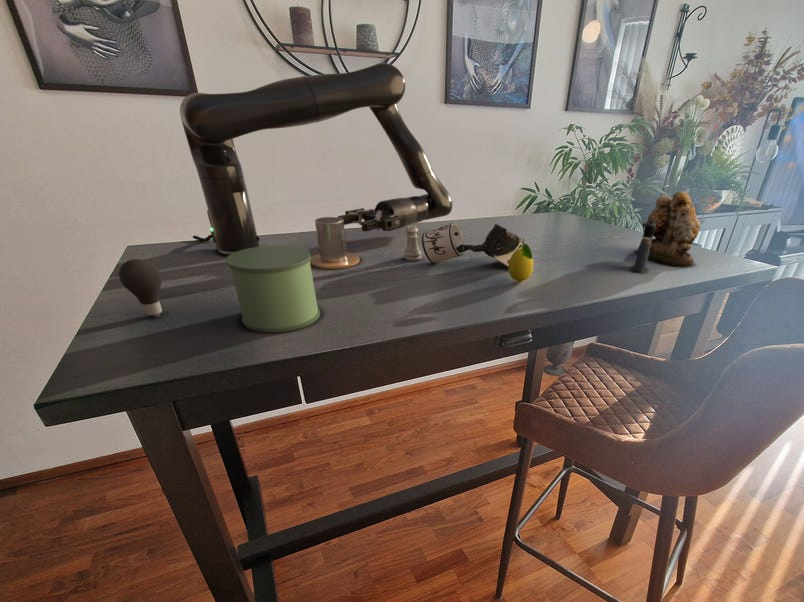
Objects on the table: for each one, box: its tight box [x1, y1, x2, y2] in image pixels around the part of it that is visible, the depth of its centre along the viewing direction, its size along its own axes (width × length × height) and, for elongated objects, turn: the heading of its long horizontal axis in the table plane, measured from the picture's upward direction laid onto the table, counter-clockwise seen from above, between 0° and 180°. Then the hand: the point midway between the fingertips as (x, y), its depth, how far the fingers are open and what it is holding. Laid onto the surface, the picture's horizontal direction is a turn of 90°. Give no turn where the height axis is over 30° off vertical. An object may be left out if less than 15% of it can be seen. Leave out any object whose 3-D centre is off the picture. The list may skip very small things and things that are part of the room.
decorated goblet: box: [421, 222, 526, 268], centre depth 107 cm, size 25×10×10 cm, turn 92°
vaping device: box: [633, 219, 656, 274], centre depth 109 cm, size 3×5×12 cm, turn 155°
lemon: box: [508, 237, 534, 284], centre depth 97 cm, size 7×6×10 cm
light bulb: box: [118, 258, 163, 318], centre depth 75 cm, size 6×6×10 cm
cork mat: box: [310, 251, 361, 270], centre depth 107 cm, size 12×12×1 cm
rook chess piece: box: [403, 224, 422, 262], centre depth 109 cm, size 4×4×8 cm
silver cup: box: [314, 216, 348, 263], centre depth 105 cm, size 6×6×9 cm
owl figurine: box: [637, 190, 701, 267], centre depth 118 cm, size 18×12×17 cm, turn 27°
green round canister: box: [225, 245, 321, 334], centre depth 77 cm, size 13×13×11 cm
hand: (350, 224), depth 108 cm, fingers open, 8 cm apart
